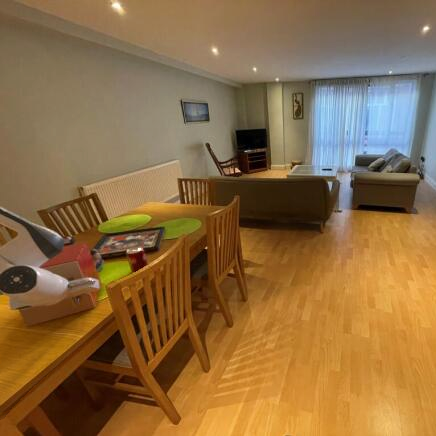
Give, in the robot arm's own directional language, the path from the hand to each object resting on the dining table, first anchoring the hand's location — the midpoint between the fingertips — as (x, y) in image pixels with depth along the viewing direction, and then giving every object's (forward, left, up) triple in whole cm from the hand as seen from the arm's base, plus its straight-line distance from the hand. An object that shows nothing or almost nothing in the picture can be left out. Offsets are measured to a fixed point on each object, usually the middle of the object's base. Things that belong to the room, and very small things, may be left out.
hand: (69, 296), depth 84 cm
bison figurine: (-1, +37, -12) cm, 39 cm away
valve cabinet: (-6, +15, -12) cm, 20 cm away
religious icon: (+13, +62, -12) cm, 64 cm away
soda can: (+19, +26, -12) cm, 34 cm away
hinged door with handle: (-6, +4, -11) cm, 14 cm away
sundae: (-13, +58, -12) cm, 61 cm away
